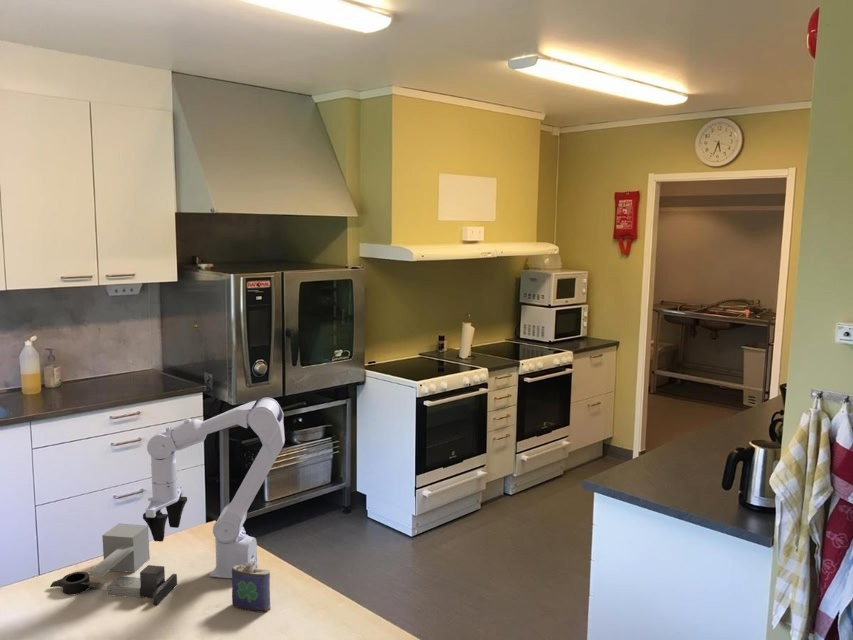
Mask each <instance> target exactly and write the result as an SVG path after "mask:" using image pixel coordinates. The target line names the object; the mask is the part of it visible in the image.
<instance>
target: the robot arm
mask: <svg viewBox="0 0 853 640" xmlns="http://www.w3.org/2000/svg"><path fill="white" fill-rule="evenodd" d="M237 425H238V426H240V427H242V428H245V429H248V427H250V428H251V429H252V430H253V432H254V433H255V434H256V435H257V436H258V437H259V440H260V442H261V444H262V446H261V448H260V449H259V452H257V455H256V456H255V459H253V462H252V464H251V466H250V468H249V470H248V471H247V473H246V474H245V477H244V479H243V480H242V482H241V484H240V485H239V488H238V489H237V491H236V493H235V495H234V497H233V498H232V500H231V502H229V503H228V504H227V505H225V506H224V507H223V508H222V510H221V512H220V515H219V517H218V518H217V521H215V522H214V524H213V527H212V534H213V536H214V537H215V544H214V545H215V565H216V566H215V568H214V569H213V570H212V571H211V572H210V574H209V577H211V578H221V579H232V568H233V567H234V566H236V565H240V564H242V565H243V566H245V567H246V563H248V562H250V563H252V562H251V561H253V562H254V564H253V568H254V569H257V567H258V565H259V562H258V543H257V538H256V537H253V536H249V535H248V534H246V533H247V532H246V529H245V527H244V524H245V521H246V520H247V515H248V514H247V513H248V510H249V508H250V506H251V505H252V503H253V502H254V499H255V497H256V495H257V494H258V492H259V490H260V489H261V486H262V485H263V483H264V481H265V479H266V478H267V476H268V474H269V473H270V470H271V469H272V467H273V465H274V464H275V462H276V460H277V458H278V456H279V455H280V453H281V451H282V449H283V447H284V445H285V441H286V437H285V426H284V411H283V410H282V407H281V405H280V404H279V402H278V401H277V400H276V399H274V398H272V397H263V398H261V399H259V400H258V401H257V400H253V401H249V402H247V403H244V404H242V405H239V406H236V407H234V408H232V409H229V410H227V411H225V412H223V413H220V414H218V415H215V416H212V417H211V418H208V419H206V420H201V419H197V418H193V419H191V418H190V417H189V418H187V419H185V420H184V421H183V423H180V424H177V425H175V426H167V427H166V428H165V429H161V430H159V431H158V432H156V434H155V435H153V436H152V437H150V439H149V440H148V441H147V444H146V450H147V452H148V454H149V456H150V461H151V462H150V467H151V468H150V469H151V473H150V474H151V494H152V495H150V496H149V497H148V500H147V501H148V502H149V505H148V506H147V507H146V508H145V512H144V513H143V514H142V519H143V521H144V522H145V523H146V524H147V525H148V529H149V531H150V533H151V536H152V539H153V541H154V542H161V543H162V542H163V541H164V540H165V529H166V522H167V520H168V524H169V525H168V526H169V527H170V528H175V529H178V528H179V527H180V523H181V519H182V514H183V512H184V509H185V508H184V507H185V505H186V504H187V502H188V496H183V495H184V494H185V491H184V490H185V489H184V486H178V472H177V471H178V469H177V467H178V465H177V453H176V452H177V451H181V450H184V449H187V448H189V447H192V446H195V445H197V444H199V443H203V442H204V441H205V440H206V438H207V436H208V435H209V434H212V433H216V432H218V431H220V430H224V429H226V428H230V427H232V426H237ZM164 508H166V509H165V511H166V513H163V512H162V510H163V509H164Z"/></svg>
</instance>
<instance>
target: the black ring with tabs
mask: <svg viewBox="0 0 853 640" xmlns="http://www.w3.org/2000/svg"><path fill="white" fill-rule="evenodd" d="M90 578H91V577H90V576H89V572H86V571H75V572H71V573H68V574H65V575H64V577H62V578H60V579H57V580H54V581H53V582H52V583H51V584H50V586H49V587H50V588H56V587H60V588H61V590H62V594H63V595H66V594H67V596H72V595H74V594H75V595H79V594H81V593H84V592H86V591H88V590H89V588H90V587H91V586H98V585H100V584H102V581H91V579H90Z"/></svg>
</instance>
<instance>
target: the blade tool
mask: <svg viewBox="0 0 853 640" xmlns="http://www.w3.org/2000/svg"><path fill="white" fill-rule="evenodd" d="M165 573H166V571H165V566H164V565H163V566H162V565H150V564H149V565H147V566H145V568H143V569H142V570H141V571H140V572H139V577H135V576H134V577H133V576H124V575H123V576H121V575H117V576H116V577H115V578H114V579H113V580H112V581H110V582H109V583H108V584H107V585H106V588H107V589H106V590H107V591H106V593H107V596H110V595H115V596H114V597H121V596H126V597H125V598H132V597H135V599H141V598H145V597H147V599H152V606H155V607H156V606H159V604H161V603H162V602H163V601H164V600H165V598H166V597H168V595H170V593H171V592H173V590H174V589H175V588H176V587H177V586H178V574H177V573H172V574H171V575H169V577H168V578H167V579H166V578H165V577H166V576H165V575H166V574H165ZM176 585H177V586H176ZM175 586H176V587H175ZM174 587H175V588H174ZM140 597H141V598H140Z"/></svg>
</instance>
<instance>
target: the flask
mask: <svg viewBox="0 0 853 640" xmlns="http://www.w3.org/2000/svg"><path fill="white" fill-rule="evenodd" d="M251 562H252V563H250V562H248V563H246V567H245V566H243V565H242V564H240V565H236V566H234V567H233V568H232V578H231V586H232V587H231V594H232V595H231V600H232V602H231V603H232V605H231V606H232V607H233V608H235V609H239V610H241V611H249V612H257V613H267V612H269V611H270V610H271V588H270V587H271V585H270V584H271V581H270V580H271V579H270V578H271V572H270V570H268V569H264V568H263V569H262V568H261V569H260V568H255V569H254V568H253V564H254V562H253V561H251Z"/></svg>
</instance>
